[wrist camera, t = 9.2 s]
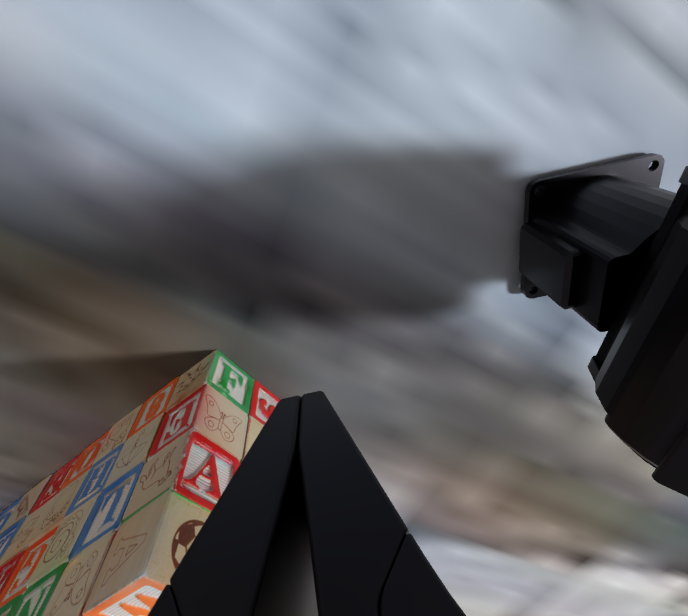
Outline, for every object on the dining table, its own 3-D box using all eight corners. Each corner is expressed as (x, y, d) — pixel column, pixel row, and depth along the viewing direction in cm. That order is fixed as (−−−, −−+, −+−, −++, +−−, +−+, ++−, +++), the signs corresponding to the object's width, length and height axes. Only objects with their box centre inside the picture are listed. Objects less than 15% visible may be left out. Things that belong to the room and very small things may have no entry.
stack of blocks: (81, 545, 30) (-38, 797, 20) (0, 510, 27) (-191, 783, 17) (290, 404, 25) (283, 642, 14) (217, 344, 22) (140, 585, 12)
